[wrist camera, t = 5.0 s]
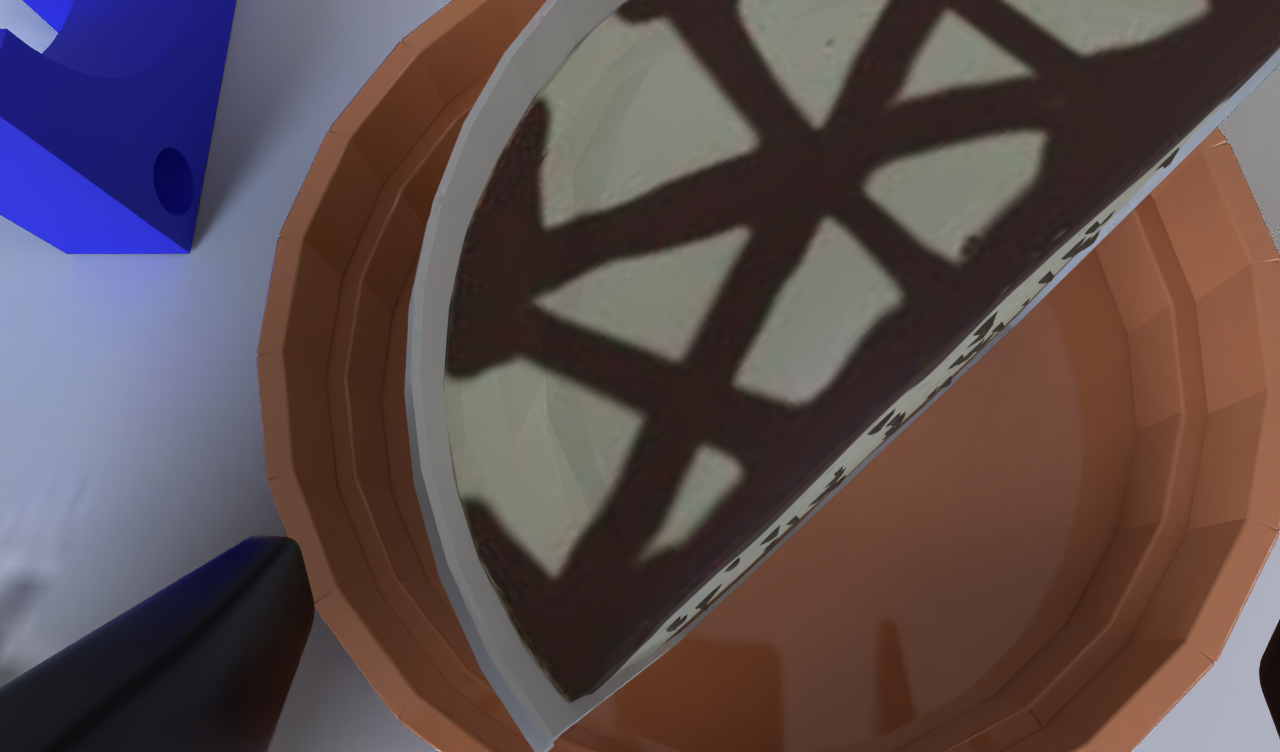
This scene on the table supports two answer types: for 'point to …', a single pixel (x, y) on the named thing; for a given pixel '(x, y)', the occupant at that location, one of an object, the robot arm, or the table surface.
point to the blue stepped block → (112, 122)
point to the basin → (858, 514)
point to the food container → (749, 280)
